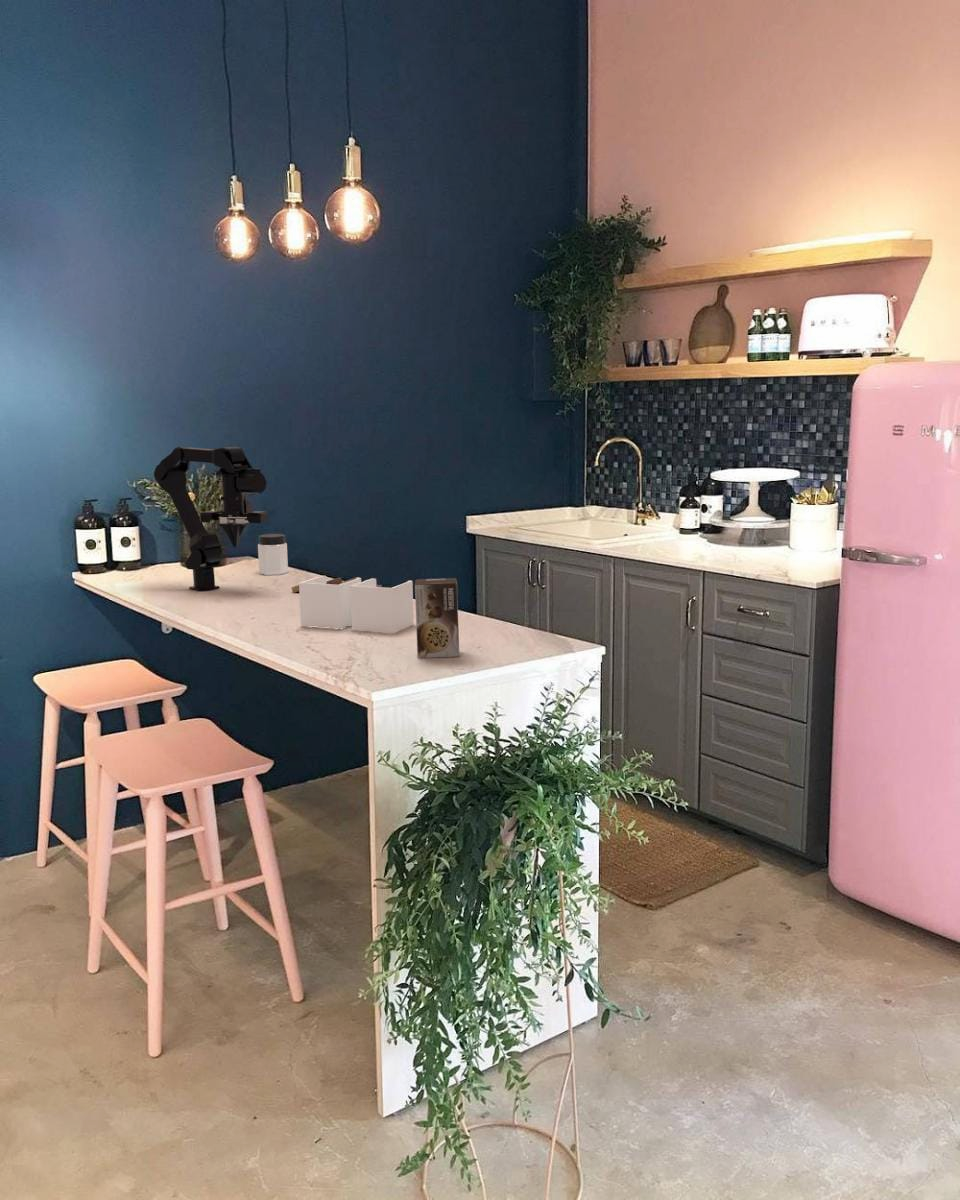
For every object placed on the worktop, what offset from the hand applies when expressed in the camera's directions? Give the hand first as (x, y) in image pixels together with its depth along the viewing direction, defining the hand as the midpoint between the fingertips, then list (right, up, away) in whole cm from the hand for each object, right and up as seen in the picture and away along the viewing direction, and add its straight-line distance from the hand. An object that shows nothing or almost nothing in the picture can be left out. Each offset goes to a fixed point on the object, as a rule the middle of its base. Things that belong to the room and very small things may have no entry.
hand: (235, 547), depth 317 cm
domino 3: (+27, -12, -1) cm, 30 cm away
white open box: (+39, -22, -45) cm, 64 cm away
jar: (+4, -7, +36) cm, 37 cm away
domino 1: (+17, -12, +2) cm, 21 cm away
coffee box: (+60, -27, -76) cm, 101 cm away
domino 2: (+22, -12, 0) cm, 25 cm away
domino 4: (+33, -12, -3) cm, 35 cm away
